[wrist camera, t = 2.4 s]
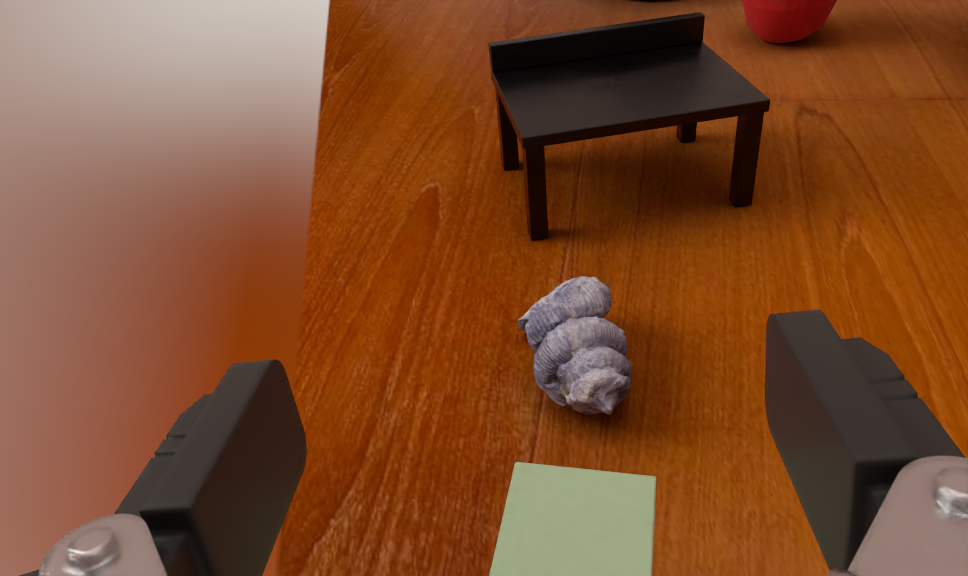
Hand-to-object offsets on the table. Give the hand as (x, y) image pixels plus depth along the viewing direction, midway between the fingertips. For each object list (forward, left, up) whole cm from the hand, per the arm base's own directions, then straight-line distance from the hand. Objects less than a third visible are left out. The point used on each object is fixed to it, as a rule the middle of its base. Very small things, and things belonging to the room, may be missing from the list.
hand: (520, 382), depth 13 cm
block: (+2, +5, -20) cm, 21 cm away
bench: (+14, +40, -20) cm, 47 cm away
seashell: (+6, +21, -20) cm, 29 cm away
